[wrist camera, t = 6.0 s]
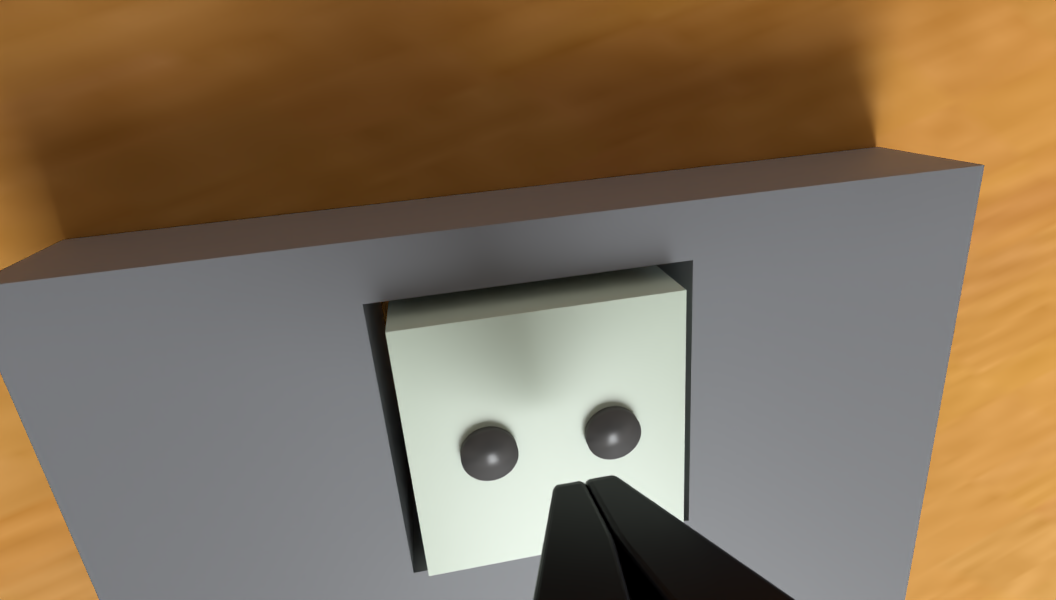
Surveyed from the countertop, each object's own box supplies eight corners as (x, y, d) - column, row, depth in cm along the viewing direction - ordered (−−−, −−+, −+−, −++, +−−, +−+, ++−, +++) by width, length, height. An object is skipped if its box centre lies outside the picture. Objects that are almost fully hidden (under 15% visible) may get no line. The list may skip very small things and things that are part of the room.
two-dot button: (426, 483, 13) (429, 583, 10) (390, 277, 11) (384, 336, 9) (636, 447, 13) (687, 533, 11) (632, 245, 12) (690, 293, 9)
